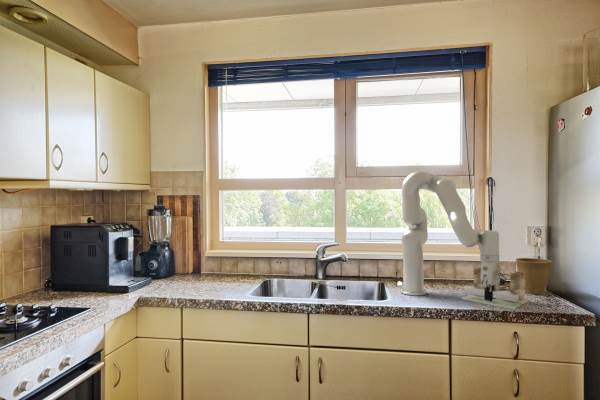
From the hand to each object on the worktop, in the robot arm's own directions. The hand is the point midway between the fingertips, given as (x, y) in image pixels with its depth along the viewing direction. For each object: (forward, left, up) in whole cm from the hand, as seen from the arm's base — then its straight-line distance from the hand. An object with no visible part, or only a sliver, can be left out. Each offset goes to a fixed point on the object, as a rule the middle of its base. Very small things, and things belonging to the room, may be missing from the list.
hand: (490, 299), depth 166 cm
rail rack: (0, +10, -1) cm, 10 cm away
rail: (0, 0, +1) cm, 1 cm away
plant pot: (+8, +33, -2) cm, 34 cm away
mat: (0, 0, -1) cm, 1 cm away
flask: (-9, +28, -2) cm, 29 cm away
